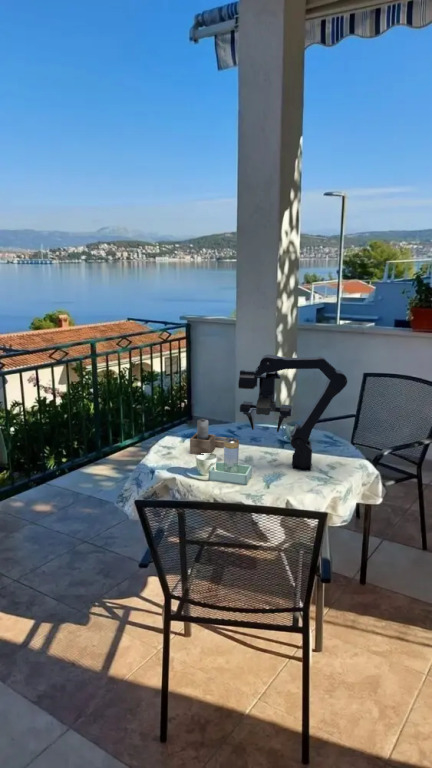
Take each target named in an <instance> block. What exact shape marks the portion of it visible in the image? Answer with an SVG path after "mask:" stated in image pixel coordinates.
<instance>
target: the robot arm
mask: <svg viewBox="0 0 432 768" xmlns="http://www.w3.org/2000/svg"><path fill="white" fill-rule="evenodd" d="M259 362H260V363H259V364H258V366H257V367H256V368H255V370H245V369H240V370H239V376H238V377H239V379H238V389H239V390H255V388H258V398H257V400H256V404H254V401H246V400H244V401H243V402H242V403H241V404H240V405H239V412H240V413H242V414H243V415H245V416H246V417H247V418H248V420H249V423H250V427H251V430H252V431H254V430H255V414H257V415H265V416H270V414H271V412H272V413H273V412H274V413H279V416H278V422H277V426H276V427H277V428H276V433H279V431H280V429H281V427H282V423H283V421H284V419H287V418H288V417H291V416H292V415H293V410H294V407H293V406H292V404H284V403H283V404H281V406H277V402H276V401H275V398H276V397H275V394H276V380H280V379H281V374H280V373H278V372H280V371H283V370H315V369H316V370H320V372H321V373H322V374H323V375H324V376H325V377H326V378H327V380H326V382H325V385H324V388H323V391H322V392H321V393H320V396H319V397H318V398H317V400H316V402H315V403H314V405H312V406H313V407H312V408H311V409H310V411H309V412H308V414H307V415H306V417H305V419H304V420H303V422H301V423H300V424H298V423H295V425H294V427H293V429H292V430H291V431H290V437H289V438H290V445H291V448H293V449H294V452H293V453H292V459H291V461H292V462H291V465H292V469H293V470H298V469H305V470H304V471H307V470H312V467H311V466H312V465H313V463H312V462H313V447H312V443H311V441H310V437H311V434H312V432H313V429H314V428H315V426H316V425H317V423H318V422H319V420H320V419H321V417H322V415H323V414H324V412H325V411H326V409H327V408H328V406H329V404H330V403H331V401H332V400H333V399H334V398H336V396H337V395H338V394H340V392H341V391H343V390H344V388H345V387H346V386H347V384H348V377H347V376H346V375H345V373H344V372H343V371H342V370H341V369H340V370H339V369H336V367H334V366H333V365H332V364H331V363H330V362H328V361H327V360H326V358H325V357H324V356H316V357H315V356H313V357H311V356H310V357H309V356H307V357H301V356H300V357H283V356H279V355H275V354H268V353H267V354H264V355H263V356H262V357H261V359H260V361H259ZM258 379H259V380H258ZM258 381H259V382H258ZM255 412H256V413H255Z"/></svg>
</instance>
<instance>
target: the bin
mask: <svg viewBox="0 0 432 768" xmlns="http://www.w3.org/2000/svg"><path fill="white" fill-rule="evenodd" d="M196 421H197V422H196V426H197V427H196V428H197V429H196V430H197V431H196V433H195V434H193V436H191V438H189V454H190V455H198V454H201V453H211V454H213V452H214V451H215V450H216V447H215V437H216V434H211V433H210V434H209V420H208V419H205V418H200V419H198V420H196Z"/></svg>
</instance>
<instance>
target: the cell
mask: <svg viewBox="0 0 432 768" xmlns="http://www.w3.org/2000/svg"><path fill="white" fill-rule="evenodd" d="M226 438H227V439H225V440H224V448H223V454H224V455H223V463H224V472H228V473H237V474H238V464H239V455H240V454H239V452H240V448H239V447H240V439H238V438H236V437H232V436H231V437H226Z"/></svg>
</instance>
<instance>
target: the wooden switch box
mask: <svg viewBox="0 0 432 768" xmlns="http://www.w3.org/2000/svg"><path fill="white" fill-rule="evenodd" d="M227 438H228V437H222V436H215V448H218V449H224V440H225V439H227Z"/></svg>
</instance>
